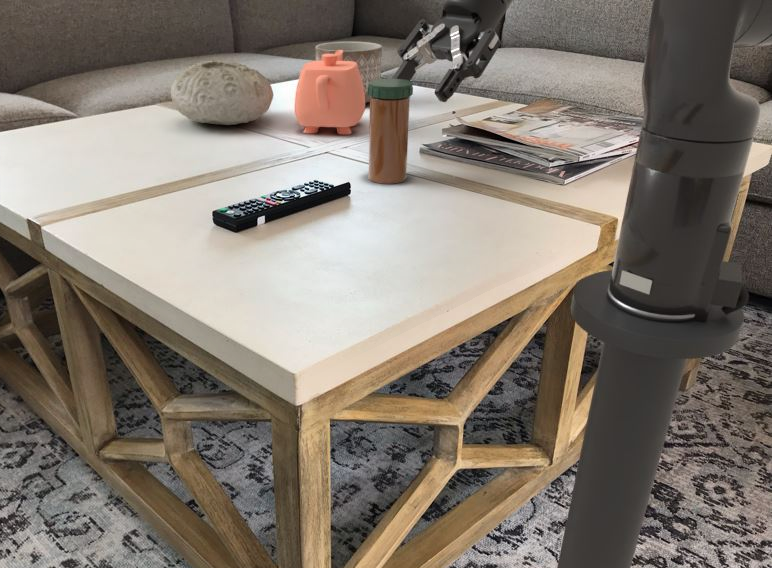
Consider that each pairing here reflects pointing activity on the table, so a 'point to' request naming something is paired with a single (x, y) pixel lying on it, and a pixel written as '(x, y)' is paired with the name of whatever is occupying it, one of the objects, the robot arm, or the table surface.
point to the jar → (388, 139)
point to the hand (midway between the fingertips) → (416, 92)
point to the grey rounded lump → (221, 93)
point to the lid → (390, 88)
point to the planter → (357, 58)
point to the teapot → (330, 94)
